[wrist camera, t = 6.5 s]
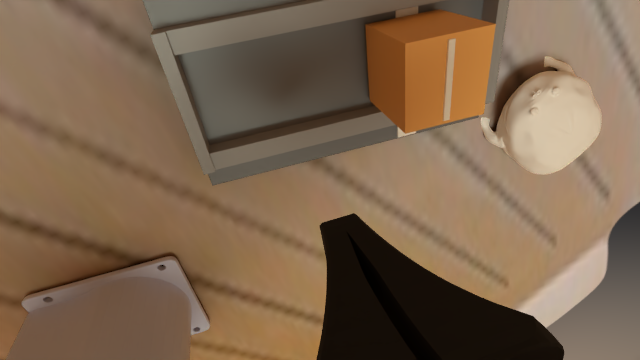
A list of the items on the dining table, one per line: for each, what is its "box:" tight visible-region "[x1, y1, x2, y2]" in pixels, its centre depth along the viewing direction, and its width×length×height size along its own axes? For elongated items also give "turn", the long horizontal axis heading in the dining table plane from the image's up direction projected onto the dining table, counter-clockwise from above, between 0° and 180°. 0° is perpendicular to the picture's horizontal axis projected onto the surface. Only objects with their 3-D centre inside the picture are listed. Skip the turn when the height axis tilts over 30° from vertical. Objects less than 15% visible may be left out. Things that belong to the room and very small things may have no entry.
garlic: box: [481, 56, 602, 174], centre depth 24 cm, size 8×7×4 cm
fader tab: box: [365, 9, 496, 134], centre depth 17 cm, size 4×4×4 cm
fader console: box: [143, 0, 509, 186], centre depth 19 cm, size 17×10×2 cm, turn 97°
